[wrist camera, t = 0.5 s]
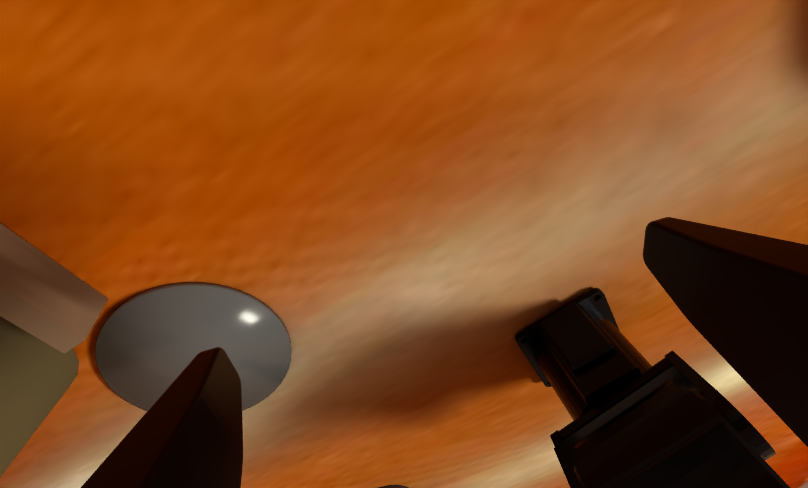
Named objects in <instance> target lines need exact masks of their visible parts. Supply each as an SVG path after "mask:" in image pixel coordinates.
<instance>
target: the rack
mask: <svg viewBox="0 0 808 488" xmlns="http://www.w3.org/2000/svg"><path fill="white" fill-rule="evenodd" d="M107 300H108V298H106V297H105V296H103V295H102V294H101V293H99V292H98V291H96V290H95V289H94V288H92V287H91V286H89V285H88V284H86V283H85V282H84V281H82V280H81V279H79V278H78V277H76V276H75V275H74V274H72V273H71V272H69V271H68V270H66V269H65V268H64V267H62V266H61V265H59V264H58V263H56V262H55V261H54V260H52V259H51V258H49V257H48V256H47V255H45V254H44V253H42V252H41V251H39V250H38V249H37V248H35V247H34V246H32V245H31V244H29V243H28V242H27V241H25V240H24V239H22V238H21V237H19V236H18V235H17V234H15V233H14V232H12V231H11V230H9V229H8V228H7V227H5V226H4V225H2V224H1V223H0V316H1V317H2V318H4V319H6V320H8V321H9V322H11V323H13V324H14V325H16V326H18V327H19V328H21V329H23V330H25V331H26V332H28V333H30V334H31V335H33V336H35V337H37V338H38V339H40V340H42V341H43V342H45V343H47V344H48V345H50V346H52V347H54V348H55V349H57V350H59V351H60V352H62V353H64V354H65V353H67V352H68V351H70V350H71V349H72V348H74V347H75V346H77V345H78V344H80V343H81V342H83V341H84V340H85V339H86V337H87V335H88V334H89V332H90V330H91V328H92V327H93V325H94V323H95V321H96V320H97V318H98V316H99V314H100V313H101V311H102V309H103V307H104V305H105V304H106V302H107Z"/></svg>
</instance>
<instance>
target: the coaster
mask: <svg viewBox="0 0 808 488" xmlns="http://www.w3.org/2000/svg"><path fill="white" fill-rule="evenodd" d="M216 347H220V348H222V349H224V351H225V352H226V354H227V355H228V357H229V359H230V360H231V362H232V364H233V366H234V367H235V369H236V371H237V372H238V374H239V377H240V380H241V389H242V411H243V410H245V409H247V408H250V407H252V406H254V405H255V404H257V403H259V402H261V401H262V400H264V399H265V398H266V397H268V396H269V395H270V394H271V393H272V392H273V391H275V389H276V388H277V387H278V386H279V385H280V384H281V382H282V381H283V379H284V378H285V376H286V374H287V371H288V369H289V365H290V361H291V342H290V337H289V334H288V331H287V329H286V327H285V325H284V323H283V322H282V320H281V319H280V318H279V316H278V315H277V314H276V313H275V312H274V311H273V310H272V309H271V308H270V307H269V306H267V305H266V304H265V303H263V302H262V301H260V300H259V299H257V298H255V297H254V296H252V295H250V294H248V293H245V292H243V291H241V290H238V289H235V288H232V287H228V286H223V285H219V284H213V283H204V282H184V283H173V284H168V285H163V286H159V287H156V288H152V289H149V290H146V291H144V292H142V293H139V294H137V295H135V296H134V297H132V298H130V299H128V300H127V301H125V302H124V303H123V304H121V305H120V306H119V307H118V308H117V309H116V310H115V311H114V312H113V313H112V314H111V315H110V316H109V318H108V319H107V321H106V322H105V324H104V325H103V327H102V329H101V331H100V334H99V336H98V338H97V343H96V348H95V354H96V362H97V366H98V369H99V371H100V373H101V376H102V377H103V379H104V380H105V382H106V383H107V384H108V385H109V387H110V388H111V389H112V390H113V391H114V392H115V393H117V394H118V395H119V396H120V397H121V398H123V399H124V400H126V401H127V402H129V403H130V404H132V405H134V406H136V407H138V408H140V409H143V410H146V411H148V410H149V409H150V408H151V407H152V406H153V405H154V403H155V402H156V401H157V400H158V399H159V398H160V397H161V395H162V394H163V393H164V392H165V391H166V390H167V388H168V387H169V386H170V385H171V384H172V383H173V382H174V380H175V379H176V378H177V377H178V376H179V375H180V374H181V372H182V371H183V370H184V369H185V368H186V367H187V366H188V364H189V363H190V362H191V361H192V360H193V359H194V358H195V356H196V355H197V354H198V353H200V352H202V351H205V350H209V349H212V348H216Z"/></svg>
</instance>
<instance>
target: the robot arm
mask: <svg viewBox="0 0 808 488" xmlns="http://www.w3.org/2000/svg"><path fill="white" fill-rule="evenodd" d="M643 259H644V262H645V264H646V266H647V267H648V269H649V270H650V271H651V273H652V274H653V275H654V276H655V278H656V279H657V280H658V282H659V283H660V284H661V286H662V287H663V288H664V289H665V291H666V292H667V293H668V295H669V296H670V297H671V299H672V300H673V301H674V303H675V304H676V305H677V306H678V308H679V309H680V310H681V312H682V313H683V314H684V315H685V317H686V318H687V319H688V320H689V321H690V323H691V324H692V325H693V326H694V327H695V328H696V329H697V330H698V331H699V332H700V334H701V335H702V336H703V337H704V338H705V339H706V340H707V341H708V342H709V343H710V344H711V345H712V346H713V347H714V348H715V349H716V350H717V352H718V353H719V354H720V355H721V356H722V357H723V358H724V359H725V360H726V361H727V362H728V363H729V364H730V365H731V366H732V367H733V368H734V370H735V371H736V372H737V373H738V374H739V375H740V376H741V377H742V378H743V379H744V380H745V381H746V382H747V383H748V384H749V385H750V386H751V388H752V389H753V390H754V391H755V392H756V393H757V394H758V395H759V396H760V397H761V398H762V399H763V400H764V401H765V402H766V403H767V404H768V406H769V407H770V408H771V409H772V410H773V411H774V412H775V413H776V414H777V415H778V416H779V417H780V418H781V419H782V420H783V421H784V423H785V424H786V425H787V426H788V427H789V428H790V429H791V430H792V431H793V432H794V433H795V434H796V435H797V436H798V437H799V438H800V439H801V441H802V442H803V443H804V444H805V445H806V446H807V447H808V245H805V244H800V243H795V242H790V241H785V240H781V239H776V238H771V237H766V236H761V235H756V234H751V233H746V232H741V231H736V230H731V229H726V228H721V227H716V226H711V225H706V224H701V223H696V222H691V221H686V220H681V219H676V218H671V217H666V218H662V219H659V220H655V221H652V222H650V223H649V224H648V225H647V227H646V230H645V239H644V248H643ZM523 338H524V339H523ZM515 340H516V342H517V343H518V345H519V347H520V348H521V350H522V351H523V353H524V354H525V356H526V357H527V359H528V360H529V362H530V363H531V365H532V366H533V368H534V369H535V371H536V372H537V374H538V376H539V377H540V379H541V380H542V382H543V383H544V385H545V386H546V387H551V386H552V387H553V389H554V390H555V392H556V393H557V395H558V396H559V398H560V400H561V401H562V403H563V404H564V406H565V407H566V409H567V411H568V412H569V414H570V415H571V417H572V418H573V420H574V421H573V422H571V423H570V424H568V425H567V426H566V427H564V428H563V429H561V430H560V431H558V430H557V431H555V432H554V433H553V434H551V435H550V437H551V439H552V441H553V443H554V446H555V448H554V450H555V453H556V455H557V457H558V460H559V462H560V464H561V467H562V469H563V471H564V474H565V476H566V478H567V481H568V483H569V485H570V488H790V487H789V486H788V485H787V484H786V483H785V482H784V481H783V480H782V478H781V477H780V476H779V475H778V474H777V473H776V472H775V471H774V470H773V469H772V468H771V467H770V466H769V465H768V464H767V463H766V462H765V461H764V460H766V459H768V458H770V457H771V456H773V455H775V454H776V453H775V451H774V450H773V448H772V447H771V446H770V445H769V443H768V442H767V441H766V440H765V439H764V438H763V436H762V435H761V434H760V433H759V432H758V431H757V430H756V429H755V428H754V427H753V425H752V424H751V423H750V422H749V421H748V420H747V419H746V418H745V417H744V416H743V415H742V414H741V413H740V412H739V411H738V410H737V409H736V408H735V407H734V406H733V405H732V404H731V403H730V402H729V401H728V400H727V399H726V398H725V397H723V396H722V395H721V394H720V393H719V392H718V391H717V390H716V389H715V388H714V387H712V386H711V385H710V384H709V383H708V382H707V381H706V380H705V379H704V378H702V377H701V376H700V375H699V374H698V373H697V372H696V371H695V370H694V369H692V368H691V367H690V366H689V365H688V364H687V363H686V362H685V361H684V360H682V359H681V358H680V357H679V356H678V355H677V354H676V353H675V352H674V351H671V352H669V353H668V354H666V355H665V358H664V359H662V360H661V361H659V362H658V363H657V364H655V365H654V366H651V365H650V364H649V362H648V361H647V360H646V359H645V358H644V357H643V356H642V355H641V354H640V353H639V352H638V351H637V350H636V348H635V347H634V346H633V345H632V344H631V343H630V342H629V341H628V340H627V339H626V338H625V337H624V336H623V334H622V333H621V332H620V331H619V329H618V326H617V324H616V321H615V319H614V317H613V314H612V312H611V309H610V307H609V305H608V302H607V300H606V297H605V295H604V293H603V292H602V291H601V290H600V289H598V288H594V289H592V290H590V291H588V292H587V293H585V294H583V295H582V296H580V297H578V298H576V299H575V300H573V301H571V302H570V303H568V304H566V305H565V306H563V307H561V308H560V309H558V310H556V311H555V312H553V313H551V314H549V315H548V316H546V317H544V318H543V319H541V320H539V321H538V322H536V323H534V324H533V325H531V326H529V327H528V328H526V329H524V330H523V331H521V332H519V333H518V334H517V335H516V337H515ZM242 464H243V429H242V389H241V380H240V377H239V374H238V372H237V371H236V369H235V367H234V366H233V364H232V362H231V360H230V359H229V357H228V355H227V354H226V352H225V351H224V349H222V348H220V347H216V348H212V349H209V350H205V351H202V352H200V353H198V354H197V355H196V356H195V358H194V359H193V360H192V361H191V362H190V363H189V364H188V366H187V367H186V368H185V369H184V370H183V371H182V372H181V374H180V375H179V376H178V377H177V378H176V379H175V380H174V382H173V383H172V384H171V385H170V386H169V387H168V388H167V390H166V391H165V392H164V393H163V394H162V395H161V397H160V398H159V399H158V400H157V401H156V402H155V403H154V405H153V406H152V407H151V408H150V409H149V410H148V411H147V413H146V414H145V415H144V416H143V417H142V418H141V419H140V421H139V422H138V423H137V424H136V425H135V426H134V427H133V429H132V430H131V431H130V432H129V433H128V434H127V435H126V437H125V438H124V439H123V440H122V441H121V442H120V443H119V445H118V446H117V447H116V448H115V449H114V450H113V452H112V453H111V454H110V455H109V456H108V457H107V458H106V460H105V461H104V462H103V463H102V464H101V465H100V466H99V468H98V469H97V470H96V471H95V472H94V473H93V474H92V476H91V477H90V478H89V479H88V480H87V481H86V482H85V484H84V485H83V486H82V487H81V488H240V487H241V477H242Z"/></svg>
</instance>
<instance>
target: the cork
mask: <svg viewBox="0 0 808 488" xmlns="http://www.w3.org/2000/svg"><path fill="white" fill-rule="evenodd" d="M78 366H79V361H78V358H77V356H76V354H75V351H74V349H73V348H72V349H71V350H70V351H68V352H67V353H65V354H64V353H62V352H60V351H59V350H57V349H55V348H54V347H52V346H50V345H48V344H47V343H45V342H43V341H42V340H40V339H38V338H37V337H35V336H33V335H31V334H30V333H28V332H26V331H25V330H23V329H21V328H19V327H18V326H16V325H14V324H13V323H11V322H9V321H8V320H6V319H4V318H2V317H1V316H0V477H1V475H2V474H3V473H4V471H5V470H6V469H7V468H8V466H9V465H10V464H11V462H12V461H13V460H14V458H15V457H16V456H17V454H18V453H19V452H20V451H21V449H22V448H23V447H24V445H25V444H26V443H27V441H28V440H29V439H30V437H31V436H32V435H33V434H34V432H35V431H36V430H37V428H38V427H39V426H40V424H41V423H42V422H43V420H44V419H45V418H46V416H47V415H48V414H49V413H50V411H51V410H52V409H53V407H54V406H55V405H56V403H57V402H58V401H59V399H60V398H61V397H62V396H63V394H64V393H65V392H66V390H67V389H68V388H69V386H70V385H71V384H72V382H73V381H74V379H75V378H76V376H77V375H78Z"/></svg>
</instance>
